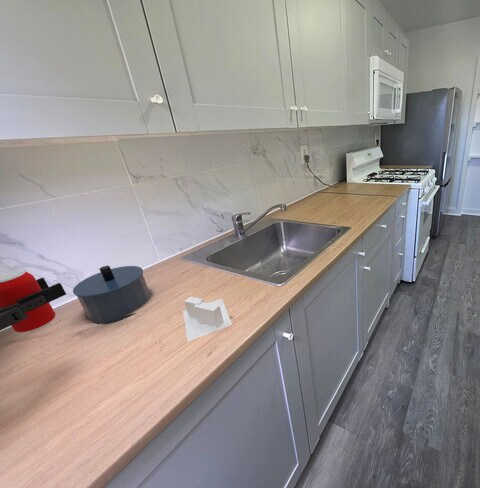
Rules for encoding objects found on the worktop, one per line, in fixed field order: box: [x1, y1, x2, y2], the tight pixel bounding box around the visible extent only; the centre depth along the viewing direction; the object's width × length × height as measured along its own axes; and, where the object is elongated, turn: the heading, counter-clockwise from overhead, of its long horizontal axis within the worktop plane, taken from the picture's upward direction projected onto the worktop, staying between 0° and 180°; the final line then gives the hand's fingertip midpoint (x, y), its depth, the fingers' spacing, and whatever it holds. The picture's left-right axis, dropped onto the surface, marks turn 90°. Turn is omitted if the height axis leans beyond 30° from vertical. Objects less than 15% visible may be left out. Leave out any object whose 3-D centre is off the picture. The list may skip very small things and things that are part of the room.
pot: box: [76, 273, 151, 325], centre depth 81 cm, size 16×16×10 cm
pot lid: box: [72, 265, 144, 298], centre depth 78 cm, size 17×17×5 cm
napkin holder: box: [182, 296, 233, 342], centre depth 74 cm, size 15×11×6 cm
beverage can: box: [0, 269, 56, 334], centre depth 53 cm, size 6×6×12 cm
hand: (53, 285), depth 57 cm, fingers closed on beverage can, 6 cm apart
